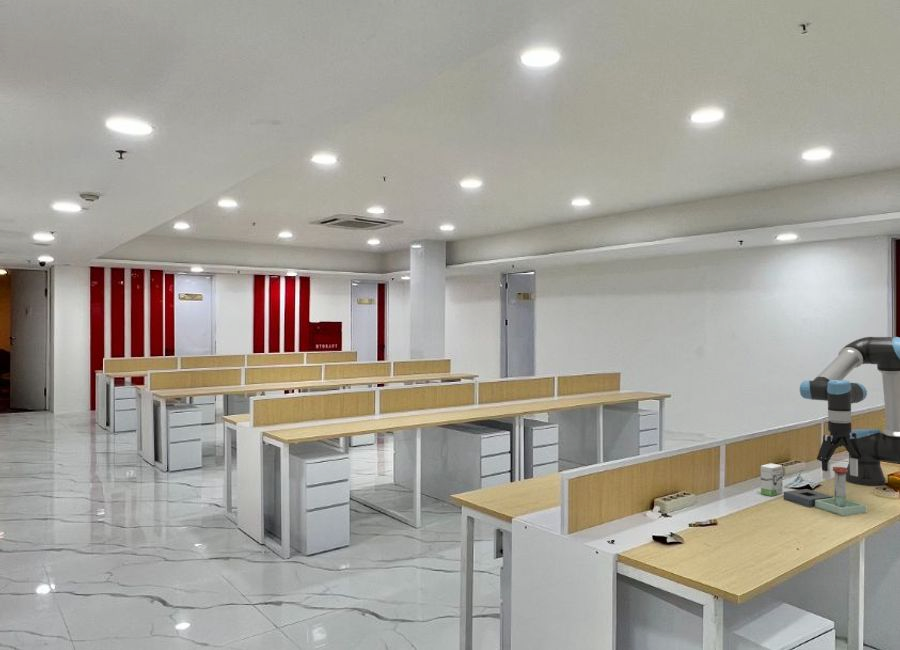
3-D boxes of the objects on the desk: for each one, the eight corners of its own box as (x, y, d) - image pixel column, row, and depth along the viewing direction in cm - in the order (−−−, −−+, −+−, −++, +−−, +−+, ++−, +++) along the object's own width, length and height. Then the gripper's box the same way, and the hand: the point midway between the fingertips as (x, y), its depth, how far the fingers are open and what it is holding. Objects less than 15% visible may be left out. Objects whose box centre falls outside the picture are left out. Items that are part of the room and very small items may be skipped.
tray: (838, 504, 245) (838, 497, 245) (866, 512, 234) (866, 505, 234) (815, 507, 241) (815, 500, 241) (842, 516, 230) (842, 508, 230)
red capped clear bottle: (839, 506, 241) (839, 466, 241) (850, 509, 236) (850, 468, 236) (829, 507, 239) (829, 467, 239) (841, 510, 235) (841, 469, 235)
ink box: (772, 496, 256) (771, 467, 256) (760, 494, 261) (760, 465, 260) (783, 493, 261) (782, 465, 261) (771, 490, 265) (771, 462, 265)
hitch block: (806, 496, 256) (806, 488, 256) (833, 504, 245) (832, 496, 245) (783, 499, 253) (783, 491, 253) (809, 507, 241) (809, 499, 241)
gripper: (855, 417, 245) (856, 471, 245) (805, 422, 237) (806, 478, 237) (873, 420, 238) (874, 476, 238) (822, 425, 230) (823, 483, 230)
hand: (840, 477), depth 238 cm, fingers open, 13 cm apart
